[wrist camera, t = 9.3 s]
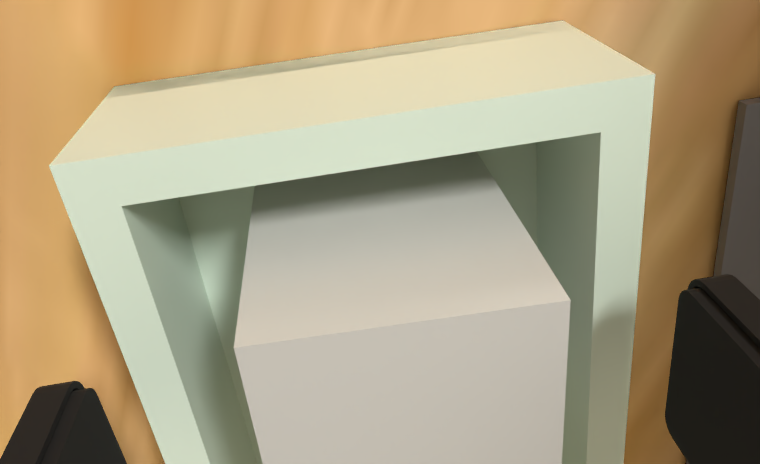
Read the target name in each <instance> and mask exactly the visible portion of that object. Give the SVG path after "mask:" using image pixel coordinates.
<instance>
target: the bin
mask: <svg viewBox="0 0 760 464" xmlns="http://www.w3.org/2000/svg"><path fill="white" fill-rule="evenodd" d="M654 84H655V73H653V72H651V71H649V70H648V69H646V68H644V67H643V66H641V65H639V64H637V63H636V62H634V61H632V60H630V59H629V58H627V57H625V56H624V55H622V54H620V53H618V52H617V51H615V50H613V49H611V48H610V47H608V46H606V45H604V44H603V43H601V42H599V41H598V40H596V39H594V38H592V37H591V36H589V35H587V34H585V33H584V32H582V31H580V30H579V29H577V28H575V27H573V26H572V25H570V24H568V23H566V22H565V21H563V20H562V21H555V22H548V23H541V24H535V25H528V26H521V27H514V28H507V29H501V30H494V31H487V32H480V33H474V34H467V35H460V36H453V37H446V38H440V39H433V40H426V41H419V42H413V43H406V44H399V45H392V46H385V47H379V48H372V49H365V50H358V51H352V52H345V53H338V54H331V55H324V56H318V57H311V58H304V59H297V60H291V61H284V62H277V63H270V64H263V65H257V66H250V67H243V68H236V69H230V70H223V71H216V72H209V73H202V74H196V75H189V76H182V77H175V78H169V79H162V80H155V81H148V82H141V83H135V84H128V85H121V86H114V88H113V89H112V90H111V91H110V92H109V94H108V95H107V96H106V97H105V98H104V100H103V101H102V102H101V103H100V105H99V106H98V107H97V108H96V109H95V111H94V112H93V113H92V114H91V115H90V117H89V118H88V119H87V120H86V122H85V123H84V124H83V125H82V126H81V128H80V129H79V130H78V131H77V132H76V134H75V135H74V136H73V137H72V138H71V140H70V141H69V142H68V143H67V145H66V146H65V147H64V148H63V149H62V151H61V152H60V153H59V154H58V155H57V157H56V158H55V159H54V160H53V162H52V163H51V164H50V165H49V167H50V169H51V172H52V175H53V177H54V180H55V182H56V185H57V187H58V190H59V193H60V195H61V198H62V200H63V203H64V205H65V208H66V210H67V213H68V216H69V218H70V221H71V223H72V226H73V228H74V231H75V234H76V236H77V239H78V241H79V244H80V246H81V249H82V251H83V254H84V257H85V259H86V262H87V264H88V267H89V269H90V272H91V275H92V277H93V280H94V282H95V285H96V287H97V290H98V293H99V295H100V298H101V300H102V303H103V305H104V308H105V310H106V313H107V316H108V318H109V321H110V323H111V326H112V328H113V331H114V334H115V336H116V339H117V341H118V344H119V346H120V349H121V351H122V354H123V357H124V359H125V362H126V364H127V367H128V369H129V372H130V375H131V377H132V380H133V382H134V385H135V387H136V390H137V392H138V395H139V398H140V400H141V403H142V405H143V408H144V410H145V413H146V416H147V418H148V421H149V423H150V426H151V428H152V431H153V433H154V436H155V439H156V441H157V444H158V446H159V449H160V451H161V454H162V457H163V459H164V462H165V464H263V463H262V459H261V455H260V451H259V447H258V443H257V439H256V435H255V431H254V427H253V423H252V419H251V415H250V411H249V407H248V403H247V399H246V395H245V391H244V387H243V383H242V379H241V375H240V371H239V367H238V363H237V359H236V355H235V351H234V342H235V334H236V326H237V319H238V311H239V303H240V296H241V288H242V280H243V272H244V265H245V257H246V249H247V241H248V234H249V226H250V218H251V211H252V203H253V195H254V187H255V186H256V185H262V184H269V183H275V182H282V181H288V180H295V179H301V178H308V177H314V176H321V175H327V174H334V173H340V172H347V171H353V170H360V169H366V168H372V167H379V166H385V165H392V164H398V163H405V162H411V161H418V160H424V159H431V158H437V157H444V156H450V155H457V154H463V153H470V152H476V151H477V153H478V155H479V156H480V158H481V159H482V161H483V162H484V164H485V166H486V167H487V169H488V170H489V172H490V173H491V175H492V177H493V178H494V180H495V181H496V183H497V185H498V186H499V188H500V189H501V191H502V192H503V194H504V196H505V197H506V199H507V200H508V202H509V203H510V205H511V207H512V208H513V210H514V211H515V213H516V215H517V216H518V218H519V219H520V221H521V222H522V224H523V226H524V227H525V229H526V230H527V232H528V234H529V235H530V237H531V238H532V240H533V241H534V243H535V245H536V246H537V248H538V249H539V251H540V252H541V254H542V256H543V257H544V259H545V260H546V262H547V264H548V265H549V267H550V268H551V270H552V271H553V273H554V275H555V276H556V278H557V279H558V281H559V283H560V284H561V286H562V287H563V289H564V290H565V292H566V294H567V295H568V297H569V298H570V300H571V302H570V321H569V339H568V357H567V376H566V394H565V412H564V431H563V449H562V464H624V451H625V439H626V427H627V415H628V402H629V390H630V378H631V366H632V354H633V341H634V329H635V317H636V305H637V292H638V280H639V268H640V256H641V243H642V231H643V219H644V207H645V194H646V182H647V170H648V158H649V146H650V133H651V121H652V109H653V97H654Z"/></svg>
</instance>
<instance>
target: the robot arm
mask: <svg viewBox="0 0 760 464" xmlns="http://www.w3.org/2000/svg"><path fill="white" fill-rule="evenodd" d="M665 418H666V424H667V427H668V430H669V432H670V434H671V436H672V438H673V439H674V441H675V443H676V444H677V446H678V447H679V449H680V450H681V452H682V453H683V455H684V456H685V458H686V459H687V461H688V462H689V464H760V299H759V298H757V297H756V296H755V295H754V294H753V293H752V292H751V291H750V290H749V289H748V288H747V287H746V286H745V285H744V284H742V283H741V282H740V281H739V280H738V279H737V278H736V277H734V276H733V275H729V274H725V275H719V276H713V277H707V278H701V279H695V280H693V281H691V283H690V284H689V286H688V290H684V291H682V292H681V293H680V296H679V300H678V309H677V317H676V326H675V334H674V343H673V351H672V360H671V368H670V376H669V385H668V393H667V402H666V410H665ZM0 464H127V463H126V461H125V458H124V456H123V454H122V451H121V449H120V447H119V444H118V442H117V440H116V437H115V435H114V433H113V430H112V428H111V426H110V423H109V421H108V419H107V417H106V414H105V412H104V410H103V407H102V405H101V403H100V400H99V398H98V396H97V394H96V392H95V390H93V389H92V388H88V389H84V387H83V385H82V384H81V383H80V382H78V381H72V382H66V383H60V384H54V385H48V386H42V387H39V388H37V389H36V390H35V391H34V393H33V394H32V396H31V398H30V400H29V403H28V405H27V407H26V409H25V411H24V413H23V415H22V417H21V419H20V421H19V423H18V425H17V427H16V429H15V431H14V433H13V435H12V437H11V439H10V441H9V443H8V445H7V447H6V449H5V451H4V453H3V455H2V457H1V459H0Z"/></svg>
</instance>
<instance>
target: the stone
mask: <svg viewBox="0 0 760 464" xmlns="http://www.w3.org/2000/svg"><path fill="white" fill-rule="evenodd" d="M570 302H571V300H570V298H569V297H568V295H567V294H566V292H565V290H564V289H563V287H562V286H561V284H560V283H559V281H558V279H557V278H556V276H555V275H554V273H553V271H552V270H551V268H550V267H549V265H548V264H547V262H546V260H545V259H544V257H543V256H542V254H541V252H540V251H539V249H538V248H537V246H536V245H535V243H534V241H533V240H532V238H531V237H530V235H529V234H528V232H527V230H526V229H525V227H524V226H523V224H522V222H521V221H520V219H519V218H518V216H517V215H516V213H515V211H514V210H513V208H512V207H511V205H510V203H509V202H508V200H507V199H506V197H505V196H504V194H503V192H502V191H501V189H500V188H499V186H498V185H497V183H496V181H495V180H494V178H493V177H492V175H491V173H490V172H489V170H488V169H487V167H486V166H485V164H484V162H483V161H482V159H481V158H480V156H479V155H478V153H477V151H476V152H470V153H463V154H457V155H450V156H444V157H437V158H431V159H424V160H418V161H411V162H405V163H398V164H392V165H385V166H379V167H372V168H366V169H360V170H353V171H347V172H340V173H334V174H327V175H321V176H314V177H308V178H301V179H295V180H288V181H282V182H275V183H269V184H262V185H256V186H255V187H254V195H253V203H252V211H251V218H250V226H249V234H248V241H247V249H246V257H245V265H244V272H243V280H242V288H241V296H240V303H239V311H238V319H237V326H236V334H235V342H234V351H235V355H236V359H237V363H238V367H239V371H240V375H241V379H242V383H243V387H244V391H245V395H246V399H247V403H248V407H249V411H250V415H251V419H252V423H253V427H254V431H255V435H256V439H257V443H258V447H259V451H260V455H261V459H262V463H263V464H562V449H563V431H564V412H565V394H566V376H567V357H568V339H569V321H570Z"/></svg>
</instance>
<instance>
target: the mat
mask: <svg viewBox="0 0 760 464" xmlns="http://www.w3.org/2000/svg"><path fill="white" fill-rule="evenodd" d="M725 274H729V275H733V276H734V277H736V278H737V279H738V280H739V281H740V282H741V283H742V284H744V285H745V286H746V287H747V288H748V289H749V290H750V291H751V292H752V293H753V294H754V295H755V296H756V297H757V298H759V299H760V97H759V98H753V99H746V100H740V101H739V103H738V110H737V117H736V124H735V131H734V137H733V144H732V151H731V158H730V165H729V172H728V179H727V185H726V192H725V199H724V206H723V213H722V220H721V227H720V233H719V240H718V247H717V254H716V261H715V268H714V275H713V276H719V275H725ZM686 464H689V462H688V461H687V459H686Z"/></svg>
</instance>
